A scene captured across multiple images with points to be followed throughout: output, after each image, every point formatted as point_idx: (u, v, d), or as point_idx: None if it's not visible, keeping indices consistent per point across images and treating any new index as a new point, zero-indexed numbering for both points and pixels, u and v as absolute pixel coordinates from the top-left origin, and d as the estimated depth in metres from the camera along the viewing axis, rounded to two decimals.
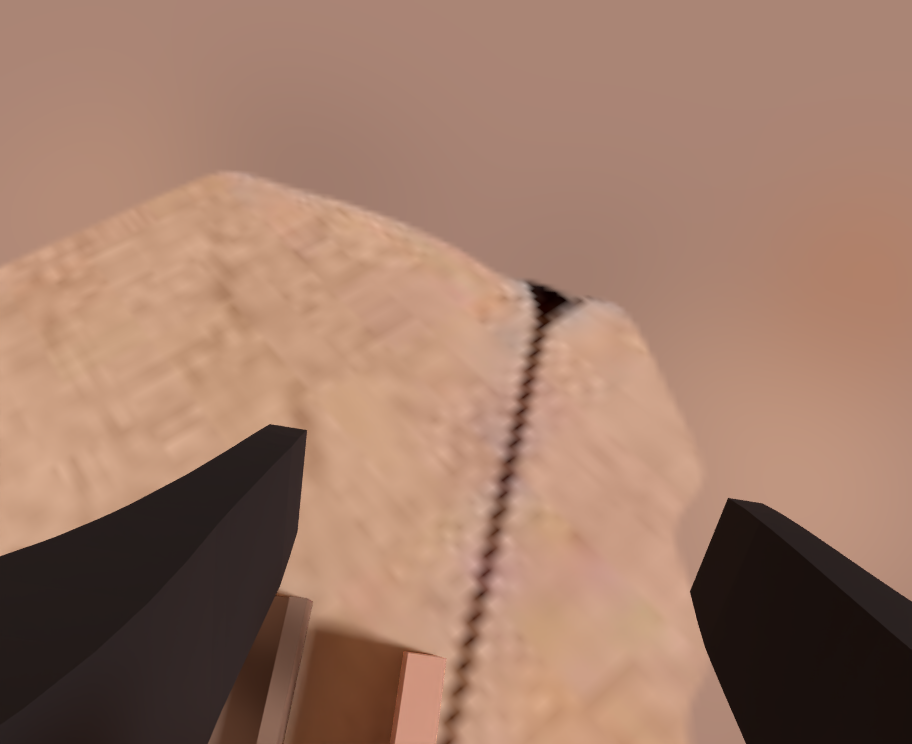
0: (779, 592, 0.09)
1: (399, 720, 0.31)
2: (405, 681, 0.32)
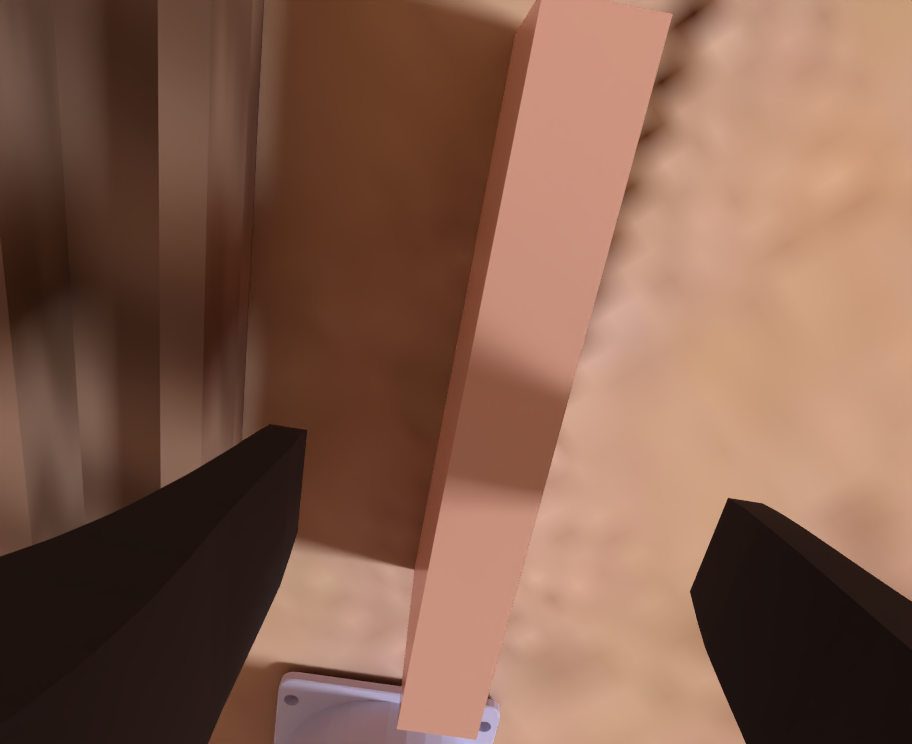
0: (779, 592, 0.09)
1: (505, 196, 0.10)
2: (528, 84, 0.10)
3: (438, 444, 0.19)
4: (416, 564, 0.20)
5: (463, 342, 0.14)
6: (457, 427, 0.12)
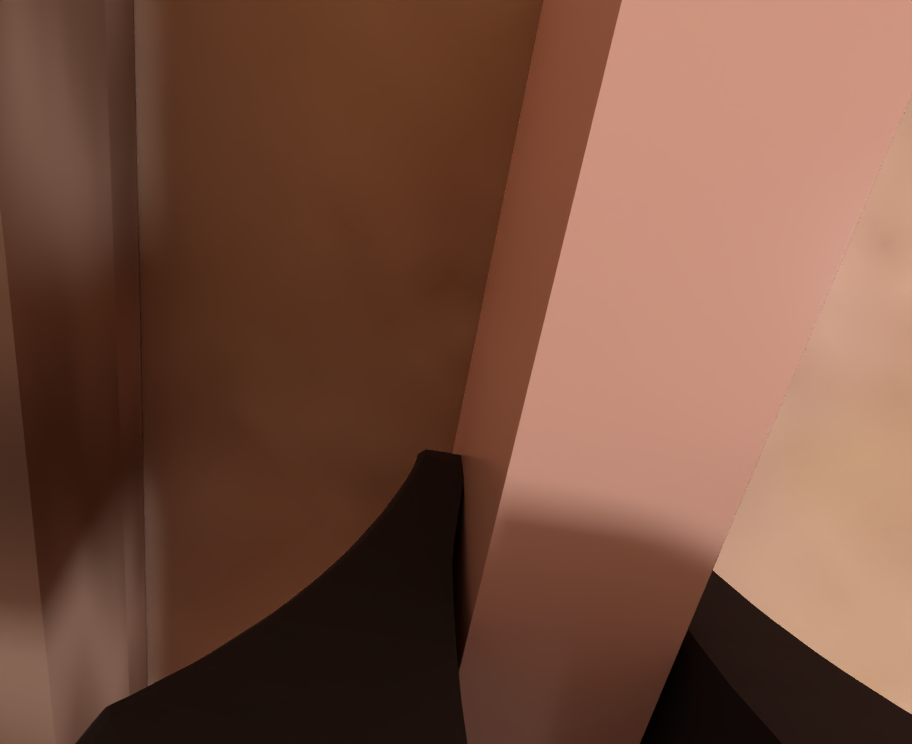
0: None
1: (558, 292, 0.05)
2: (625, 28, 0.04)
3: None
4: None
5: (462, 492, 0.09)
6: None
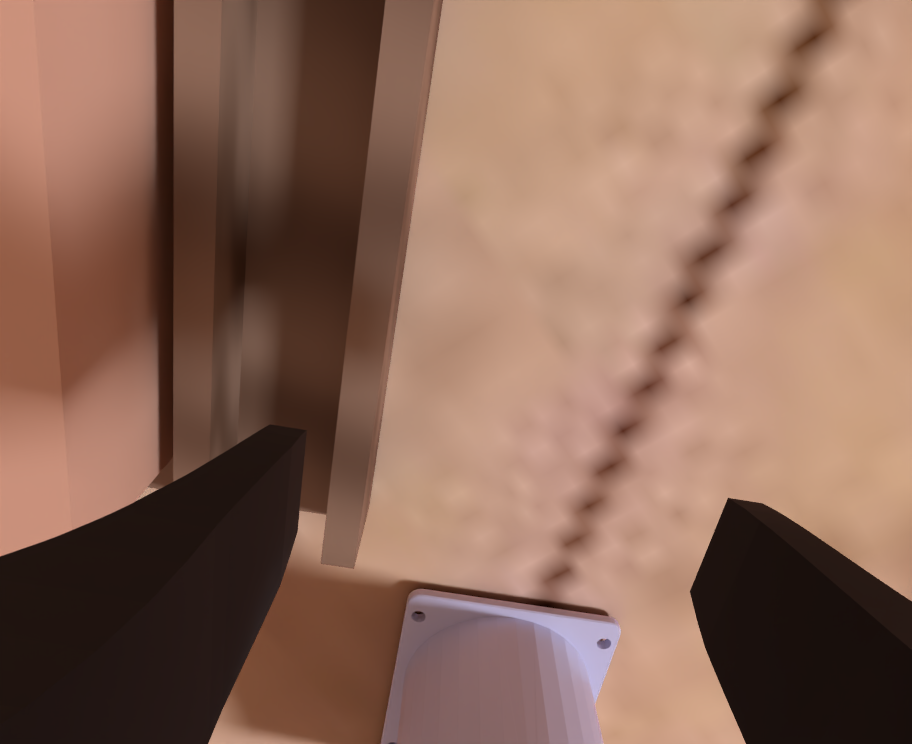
0: (779, 592, 0.09)
1: None
2: None
3: None
4: None
5: None
6: None
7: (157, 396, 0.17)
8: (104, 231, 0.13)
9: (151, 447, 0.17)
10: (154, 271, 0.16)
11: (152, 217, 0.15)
